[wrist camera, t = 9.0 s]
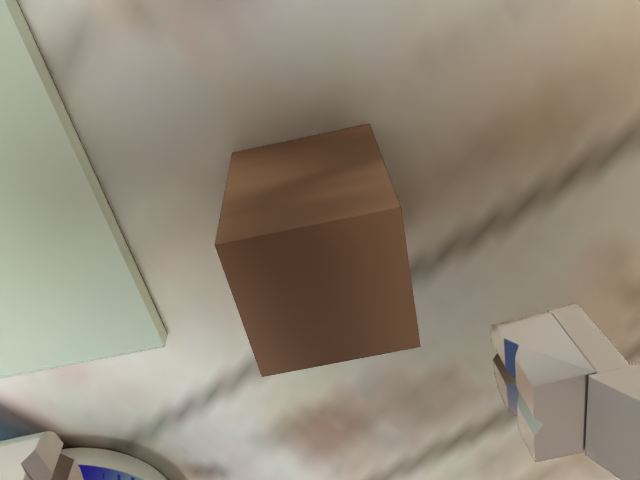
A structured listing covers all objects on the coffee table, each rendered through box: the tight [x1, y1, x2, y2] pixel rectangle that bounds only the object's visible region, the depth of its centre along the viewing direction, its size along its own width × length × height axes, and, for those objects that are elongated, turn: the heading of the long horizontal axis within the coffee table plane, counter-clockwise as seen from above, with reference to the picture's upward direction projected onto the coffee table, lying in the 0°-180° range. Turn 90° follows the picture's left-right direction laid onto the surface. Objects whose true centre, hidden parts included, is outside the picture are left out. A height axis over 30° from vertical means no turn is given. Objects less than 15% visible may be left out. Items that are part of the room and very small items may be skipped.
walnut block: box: [215, 124, 421, 377], centre depth 15 cm, size 4×4×5 cm
